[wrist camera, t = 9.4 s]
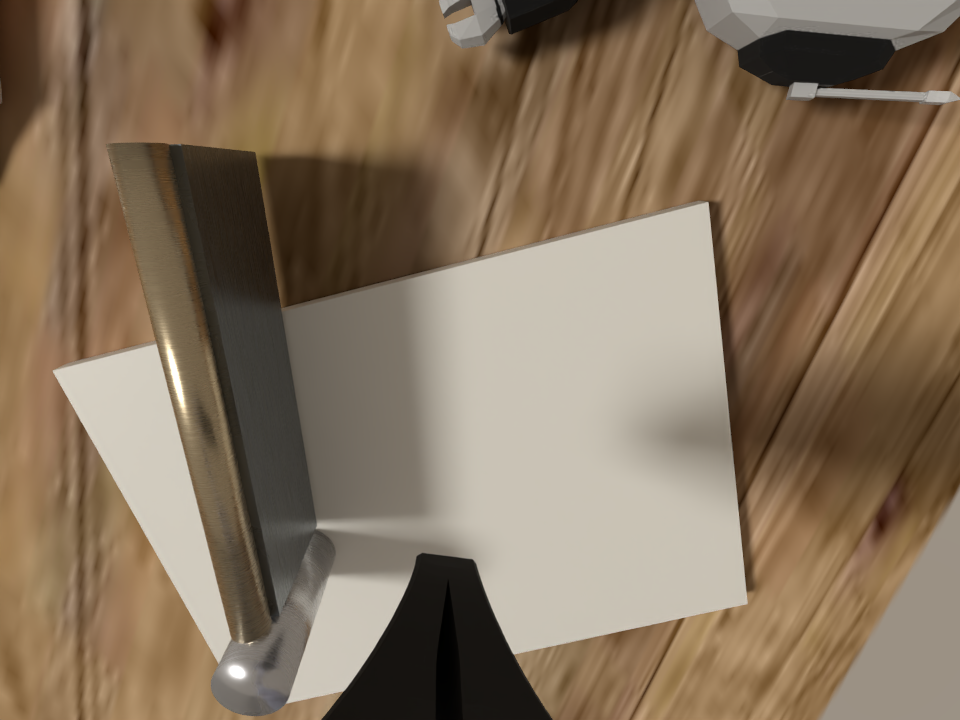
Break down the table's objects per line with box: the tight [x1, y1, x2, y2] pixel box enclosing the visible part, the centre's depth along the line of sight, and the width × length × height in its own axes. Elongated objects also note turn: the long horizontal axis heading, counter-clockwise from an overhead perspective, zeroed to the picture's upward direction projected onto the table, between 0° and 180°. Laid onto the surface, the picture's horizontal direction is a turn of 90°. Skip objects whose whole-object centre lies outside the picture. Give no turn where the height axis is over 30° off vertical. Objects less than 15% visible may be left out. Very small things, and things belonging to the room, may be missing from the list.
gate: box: [106, 143, 317, 643], centre depth 16 cm, size 2×14×6 cm, turn 2°
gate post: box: [211, 530, 336, 716], centre depth 19 cm, size 2×2×7 cm
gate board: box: [53, 201, 748, 703], centre depth 22 cm, size 18×24×1 cm
